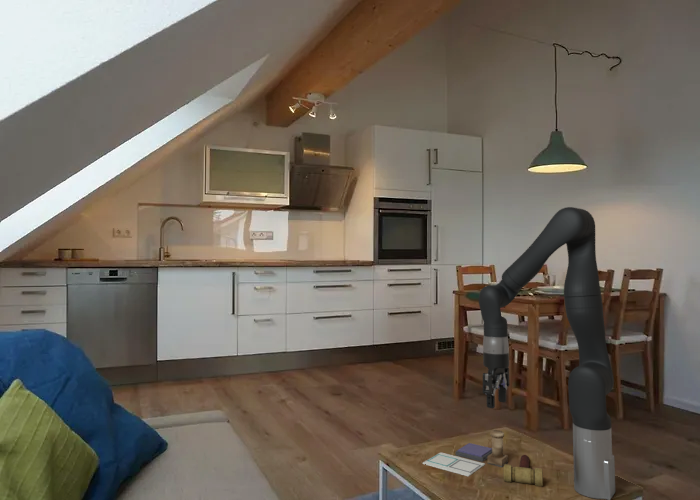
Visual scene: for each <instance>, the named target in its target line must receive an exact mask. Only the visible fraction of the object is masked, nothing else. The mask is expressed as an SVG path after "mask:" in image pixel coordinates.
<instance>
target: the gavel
mask: <svg viewBox="0 0 700 500" xmlns="http://www.w3.org/2000/svg"><path fill="white" fill-rule="evenodd" d="M543 471H544V470H543V468H539V467H534V469H532V468H531V467H530V457H529V455H527V454H522V455H521V457H520V460H519V466H512V464H509V463H507V464H505V465H504V466H503V481H504V482H505V483H512V482H515V483H520V484H526V485H527V484H529V485H531V484H533V485H534V486H536V487H543V485H544V477H543V476H544V475H543Z"/></svg>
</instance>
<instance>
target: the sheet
mask: <svg viewBox="0 0 700 500" xmlns="http://www.w3.org/2000/svg"><path fill="white" fill-rule="evenodd" d="M425 464H426V465H425ZM422 465H425V466H429V467H433V468H436V469H440V470H443V471H447V472H451V473H455V474H457V475H462V476H465V477H470V476H471V475H473V474H474V473H475V472H477V471H478V470H480V469H481V468H483V467H484V466H485V465H486V463H484V462H481V461H477V460H473V459H469V458H465V457H461V456H457V455H452V454H449V453H444V452H442V451H441V452H438V453H437V454H435V455H434V456H432V457H430V458H429V459H426V460H424V461H423V462H422Z"/></svg>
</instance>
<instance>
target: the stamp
mask: <svg viewBox="0 0 700 500" xmlns="http://www.w3.org/2000/svg"><path fill="white" fill-rule="evenodd" d="M490 436H491V448H492V454H490V455H489V456H487V465H491V466H495V467H499V468H504V465H505V464H509V455H508V454H504V437H505V433H504V431H502V430H497V429H495V430H491V431H490Z"/></svg>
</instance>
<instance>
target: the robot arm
mask: <svg viewBox="0 0 700 500" xmlns="http://www.w3.org/2000/svg"><path fill="white" fill-rule="evenodd" d="M595 221H596V220H595V218H594V217H593V215H592V214H591V213H590V212H589V211H588V210H586V209H584V208H578V207H573V206H567V207H564V208H561V209H559V210H558V211H556V213H554V215H553V216H552V218H551V219H550V220H549V222H547V224H546V226H545V227H544V228H543V229H542V231H541V232H540V233H539V235H538V236H537V237H536V239H534V241H533V242H532V243H531V244H530V245H529V246H528V247H527V249H525V251H524V252H523V253H522V254H521V255H520V256H519V257H518V258H516V260H514V262H512V264H510V266H509V267H507V268H505V270H504V272H503V273H502V274H501V280H500V281H499V282H498V283H496V284H492V285H486V286H484V287H483V288H482V289H480V292H479V293H478V294H479V295H478V305H479V311H480V315H481V317H482V320H483V321H482V322H483V341H482V354H483V355H482V360H483V363H482V364H483V366H484V368H485V367H486V368H487V369H488V370H487V373H486V372H483V373H482V394H484V395H486V407H487V408H488V409H495V407H496V399H495V398H496V397H495V396H496V395H495V394H496V391H498V392H497V393H498V402H499V403H506V402H507V390H508V388H509V387H510V369H509V367H510V350H509V346H510V345H509V338H508V335H509V334H508V320H507V318H505V317H504V316H503V315H502V311H501V310H502V309H501V308H505V307H507V306H508V305H510V304H511V302H512V301H513V300H514V299H515V298H516V297H517V295H518V294H519V292H520V291H521V289H523V288H524V287H525V286H526V285H528V283H530V281H532V280H533V279H534V278H535V277H537V275H538V274H539V272H540V271H541V270H542V268H543V267H544V266H545V264H546V262H547V261H548V259H549V258H550V257H551V256H552V255H553V254H554V253H555V252H556V251H558V250H559V249H560V248H561V247H563V246H564V245H566V251H567V258H568V259H567V261H568V262H567V263H568V264H567V268H566V274H565V280H564V284H563V298H564V306H565V307H564V310H565V313H566V318H567V320H568V323H569V326H570V327H571V330H572V333H573V334H574V336H575V340H576V343H577V348H578V360H579V363H578V364H579V365H578V366H576V367H574V368H573V369H572V370H571V371H570V373H569V376H568V381H567V383H568V385H567V389H568V402H569V403H568V405H569V406H568V407H569V411H570V414H571V417H572V443H573V444H572V446H573V447H572V448H573V451H572V452H573V454H572V455H573V485H574V486H573V488H574V491H576V493H578V494H579V495H581V496H583V497H588V498H591V499H598V500H599V499H601V500H611V499H612V498H613V497H614V494H615V493H616V470H615V467H616V466H615V455H614V454H613V444H612V442H613V441H612V436H613V435H612V418H611V416H610V415H609V414H608V411H607V395H608V394H610V393H611V391H612V389H613V387H614V383H615V382H614V381H615V380H614V379H615V378H614V373H613V369H612V365H611V360H610V356H609V353H608V346H607V340H606V328H605V327H606V326H605V318H604V307H603V296H602V291H601V285H600V277H599V270H598V264H597V255H596V254H597V253H596V251H597V250H596V222H595Z"/></svg>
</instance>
